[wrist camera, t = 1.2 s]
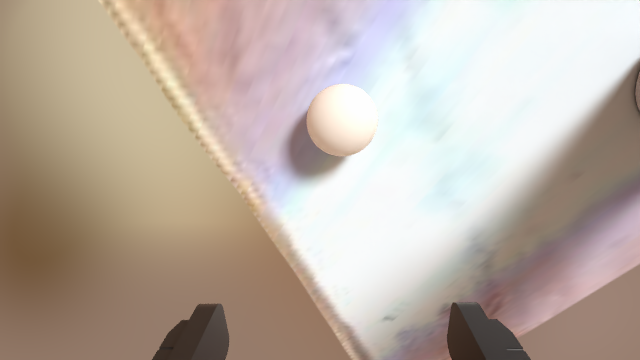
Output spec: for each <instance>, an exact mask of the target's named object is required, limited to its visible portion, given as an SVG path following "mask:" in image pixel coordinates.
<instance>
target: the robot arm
mask: <svg viewBox="0 0 640 360" xmlns="http://www.w3.org/2000/svg"><path fill="white" fill-rule="evenodd" d="M635 96H636V102H637V106H638V108H639V110H640V72H639V75H638V79H637V83H636V94H635ZM447 342H448V349H449V353H450V356H451V358H452V360H531V359H530V358H529V356H528V355H527V353H526V352H525V351H523V348H522V346H521V345H520V343H519V342H518V340H517V339H516V337H515V336H514V334H513V333H512V332H511V331H510V330H509V329H508V328H506V327H505V326H504V325H503V324H502V323H501V322H499V321H498V320H497V319H488V318H487V316H486V314H485V313H484V311H483V310H482V308H481V306H480V305H479V304H478V303H476V302H468V303H453V304H452V306H451V312H450V320H449V327H448V334H447ZM228 347H229V334H228V329H227V324H226V319H225V315H224V310H223V306H222V305H221V304H199V305H198V306H197V307H196V309H195V310H194V312H193V314H192V316H191V317H190V319H189V320H182V321H181V322H180V323H179V324H177V325H176V326H175V327H174V328H173V329H172V330H171V331H170V332H169V333H168V334H167V336H166V338H165V339H164V341H163V343H162V344H161V346H160V349H159V350H158V351H157V352H156V354H155V356H154V357H153V359H152V360H225V358H226V355H227V352H228Z"/></svg>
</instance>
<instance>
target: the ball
mask: <svg viewBox="0 0 640 360" xmlns="http://www.w3.org/2000/svg"><path fill="white" fill-rule="evenodd" d="M377 123H378V115H377V110H376V107H375V105H374V103H373V101H372V99H371V98H370V97H369V95H368V94H367V93H365V92H364V91H363V90H361V89H360V88H358V87H356V86H353V85H348V84H337V85H332V86H330V87H327V88H325V89H324V90H322V91H321V92H320V93H318V94H317V95H316V97H315V98H314V99H313V101H312V102H311V104H310V106H309V109H308V112H307V129H308V133H309V135H310V137H311V139H312V141H313V142H314V143H315V144H316V146H317V147H318V148H320V149H321V150H322V151H324V152H326V153H328V154H330V155H334V156H349V155H353V154H356V153H358V152H360V151H361V150H363V149H364V148H365V147H366V146H367V145H368V144H369V143H370V142H371V140H372V139H373V137H374V135H375V132H376V129H377Z"/></svg>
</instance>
